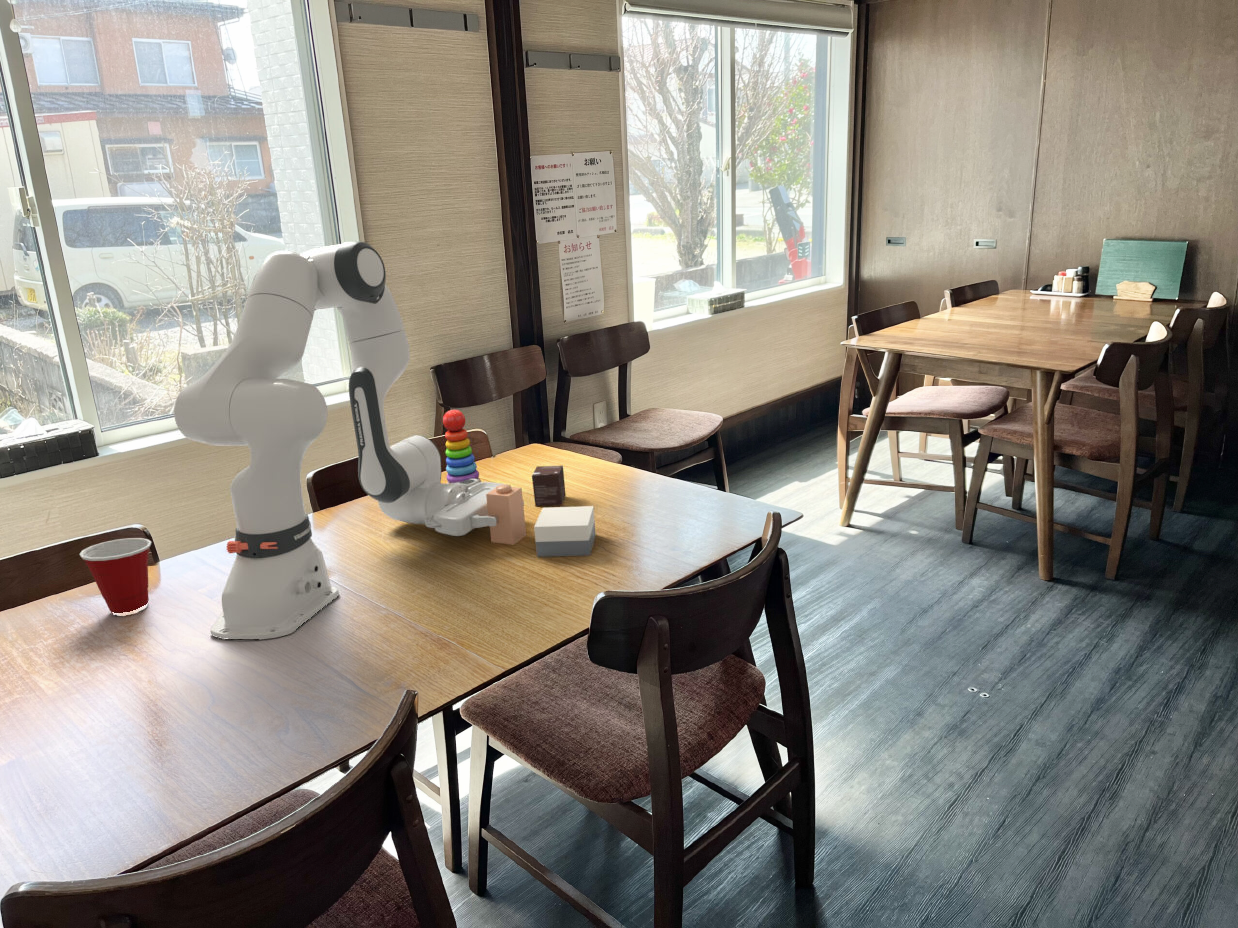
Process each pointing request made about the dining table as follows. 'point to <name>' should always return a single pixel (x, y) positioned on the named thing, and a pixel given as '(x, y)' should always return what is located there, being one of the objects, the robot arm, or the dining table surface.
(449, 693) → the dining table surface
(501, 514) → the tall brick
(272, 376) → the robot arm
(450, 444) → the stacking toy
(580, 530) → the tower base
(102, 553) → the plastic cup
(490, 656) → the dining table surface
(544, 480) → the box
